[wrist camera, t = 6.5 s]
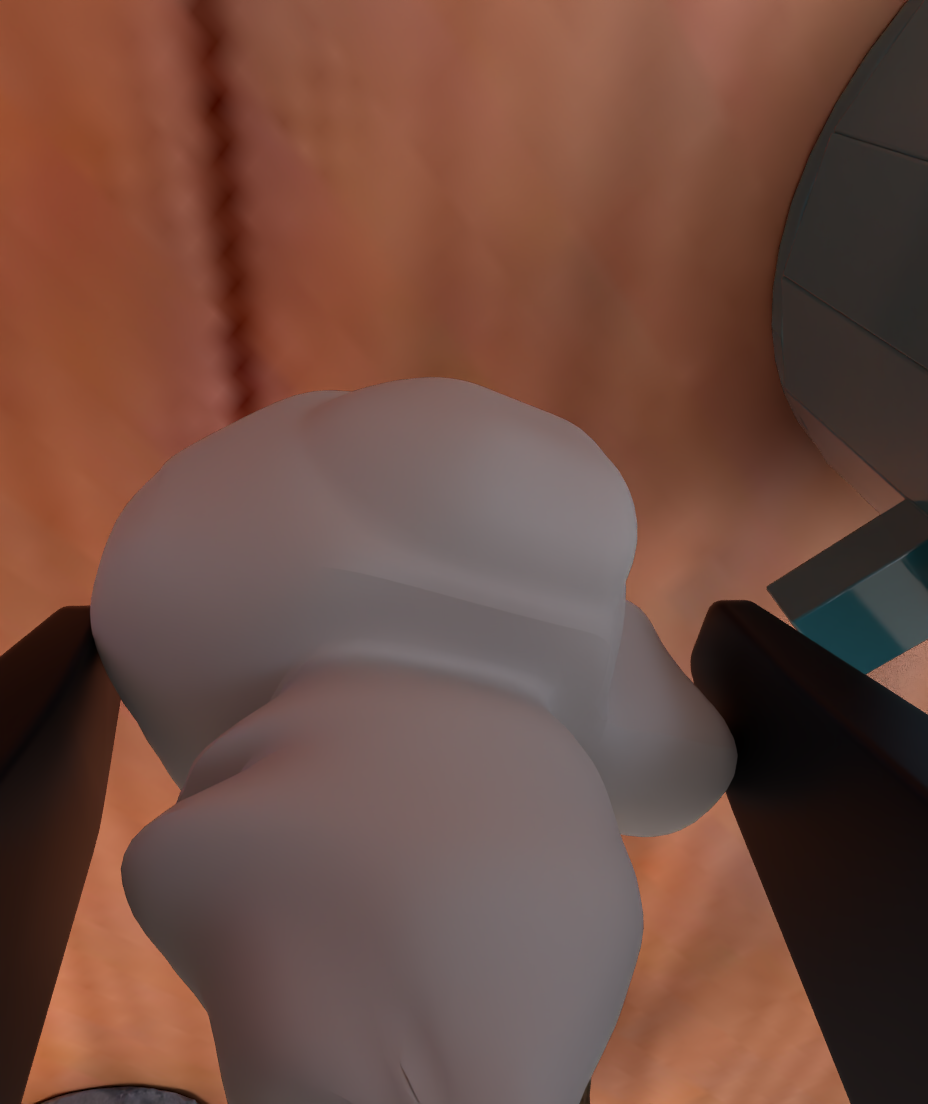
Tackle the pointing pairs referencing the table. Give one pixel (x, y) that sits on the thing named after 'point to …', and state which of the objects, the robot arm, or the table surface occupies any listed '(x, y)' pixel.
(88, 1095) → the moka pot
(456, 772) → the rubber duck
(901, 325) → the pot
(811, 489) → the table surface
